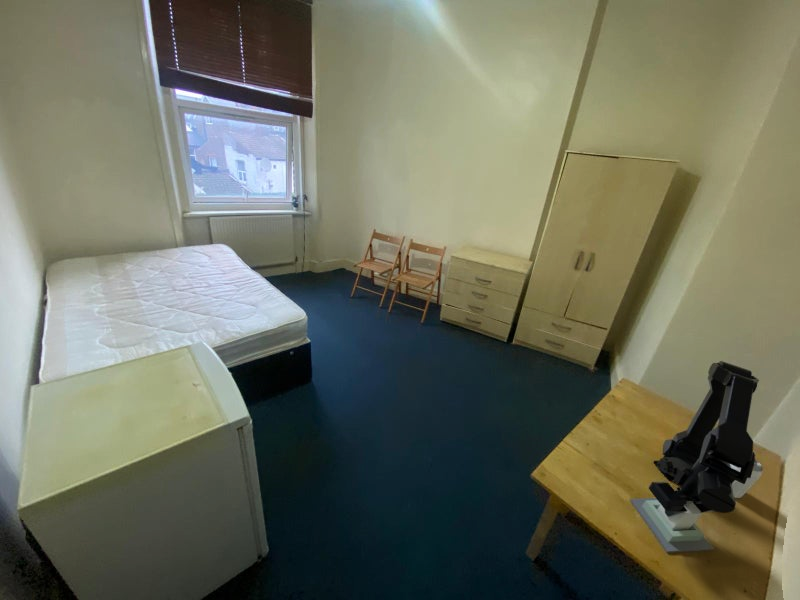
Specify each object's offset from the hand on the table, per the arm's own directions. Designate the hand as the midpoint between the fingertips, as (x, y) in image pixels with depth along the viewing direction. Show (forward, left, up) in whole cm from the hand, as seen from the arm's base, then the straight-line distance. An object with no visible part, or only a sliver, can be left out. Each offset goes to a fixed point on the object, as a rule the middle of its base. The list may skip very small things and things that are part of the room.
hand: (675, 514), depth 85 cm
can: (-28, -9, -4) cm, 30 cm away
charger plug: (0, 0, -2) cm, 2 cm away
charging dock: (0, 0, -4) cm, 4 cm away
